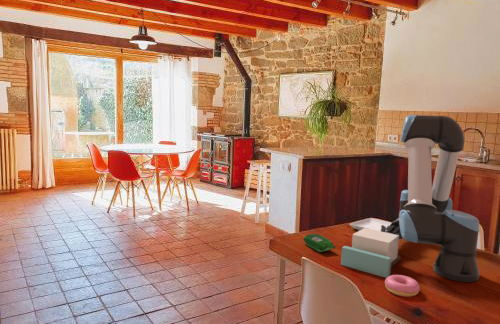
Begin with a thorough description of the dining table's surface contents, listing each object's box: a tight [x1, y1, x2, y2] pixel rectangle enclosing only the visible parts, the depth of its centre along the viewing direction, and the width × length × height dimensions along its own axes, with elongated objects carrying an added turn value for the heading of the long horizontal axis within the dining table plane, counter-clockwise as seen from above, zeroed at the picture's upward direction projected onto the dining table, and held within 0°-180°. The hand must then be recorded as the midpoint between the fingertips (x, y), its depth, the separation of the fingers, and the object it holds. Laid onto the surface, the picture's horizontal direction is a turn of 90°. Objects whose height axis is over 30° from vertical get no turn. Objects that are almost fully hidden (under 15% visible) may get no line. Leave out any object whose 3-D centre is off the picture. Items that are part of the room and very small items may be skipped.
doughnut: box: [384, 274, 421, 298], centre depth 130 cm, size 11×11×4 cm
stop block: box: [340, 245, 392, 279], centre depth 145 cm, size 18×2×7 cm, turn 52°
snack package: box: [302, 233, 336, 253], centre depth 167 cm, size 7×16×5 cm, turn 25°
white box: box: [351, 228, 400, 262], centre depth 152 cm, size 14×12×9 cm
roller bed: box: [390, 254, 401, 269], centre depth 154 cm, size 14×17×2 cm
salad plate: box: [349, 217, 392, 231], centre depth 197 cm, size 21×21×3 cm
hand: (382, 239), depth 159 cm, fingers closed
